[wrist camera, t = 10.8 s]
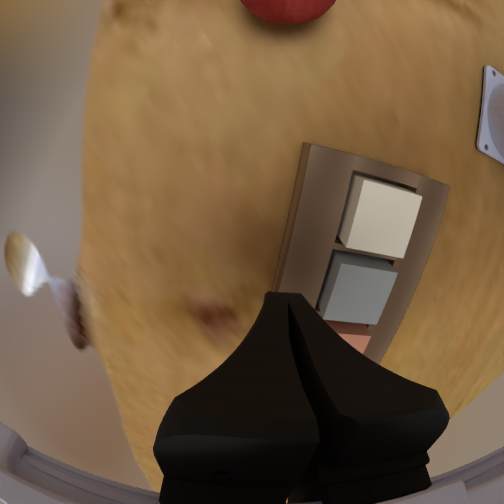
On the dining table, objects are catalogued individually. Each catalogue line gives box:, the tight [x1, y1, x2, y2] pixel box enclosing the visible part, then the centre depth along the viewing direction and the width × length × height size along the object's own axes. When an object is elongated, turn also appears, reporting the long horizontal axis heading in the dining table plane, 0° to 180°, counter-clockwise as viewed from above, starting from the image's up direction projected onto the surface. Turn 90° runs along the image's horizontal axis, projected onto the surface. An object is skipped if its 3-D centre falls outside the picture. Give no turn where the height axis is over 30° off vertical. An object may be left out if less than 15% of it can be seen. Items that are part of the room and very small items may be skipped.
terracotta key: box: [323, 319, 371, 354], centre depth 21 cm, size 4×4×3 cm
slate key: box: [317, 249, 398, 325], centre depth 19 cm, size 4×4×3 cm
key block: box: [272, 142, 450, 364], centre depth 20 cm, size 10×16×3 cm, turn 170°
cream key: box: [337, 174, 422, 258], centre depth 17 cm, size 4×4×3 cm
